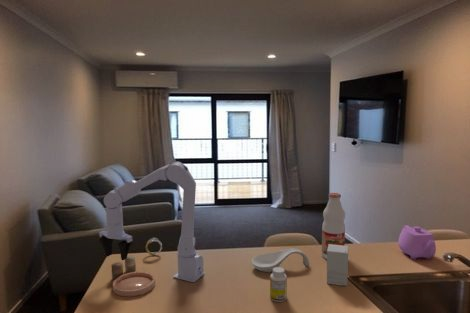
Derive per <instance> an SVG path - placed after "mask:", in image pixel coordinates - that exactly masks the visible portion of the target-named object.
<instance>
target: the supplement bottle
mask: <svg viewBox="0 0 470 313" xmlns="http://www.w3.org/2000/svg"><path fill="white" fill-rule="evenodd" d="M269 276H270V277H269V278H270V279H269V280H270V281H269V283H270V284H269V292H270V293H269V295H270V296H269V297H270V299H271V300H272V301H274V302H277V303H281V302H284V301H286V300H287V298H288V296H287V295H288V293H287V292H288V289H287V288H288V285H287V284H288V283H287V282H288V276H287V274H286V273H285V268H283V267H280V266H279V267H275V268H273V271H272V273H271V274H270V275H269Z"/></svg>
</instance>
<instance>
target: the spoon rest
mask: <svg viewBox="0 0 470 313" xmlns="http://www.w3.org/2000/svg"><path fill="white" fill-rule="evenodd" d="M293 254H298V255H300V256H301V257H302V263H303V264H304V265H305V266H306V267H310V262H309V258H308V256H307V254H305V253H304V252H303V251H302V250H300V249H298V248H293V247H291V248H285V249H281V250H277V251H273V252H267V253H262V254H258V255H255V256H254V257H253V258H252V259H251V265H252V266H253V267H254V268H255V269H256V270H258V271H260V272H264V273H271V272H273V268H275V267H280V265H282V263H283V262H284V261H285V260H286V259H287V258H288V257H289V256H290V255H293Z"/></svg>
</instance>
